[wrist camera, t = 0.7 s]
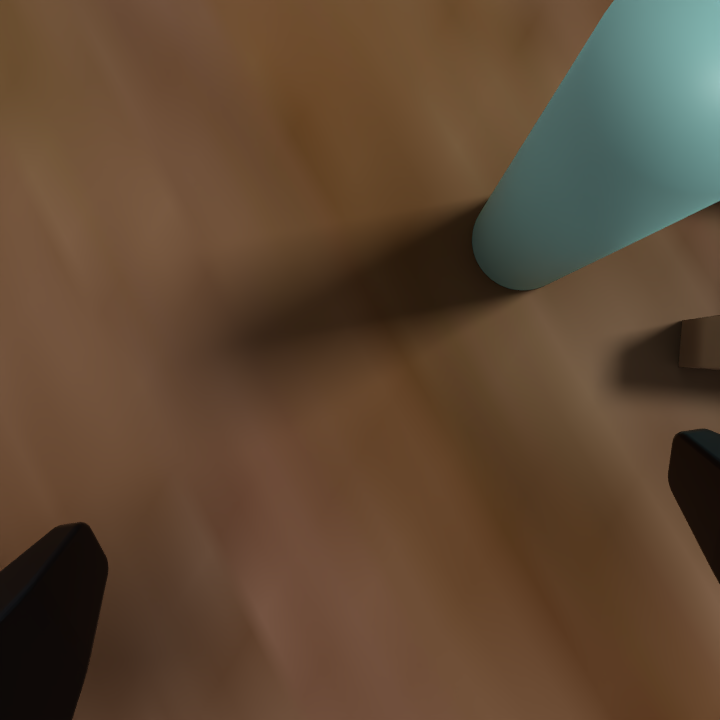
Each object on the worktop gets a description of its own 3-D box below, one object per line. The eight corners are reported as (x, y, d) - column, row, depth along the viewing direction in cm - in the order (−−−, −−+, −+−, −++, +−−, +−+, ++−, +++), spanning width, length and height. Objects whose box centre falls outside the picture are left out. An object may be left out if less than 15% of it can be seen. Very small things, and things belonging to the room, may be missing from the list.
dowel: (595, 251, 22) (880, 99, 9) (510, 310, 22) (677, 240, 9) (536, 168, 22) (737, -93, 9) (452, 227, 22) (538, 49, 9)
